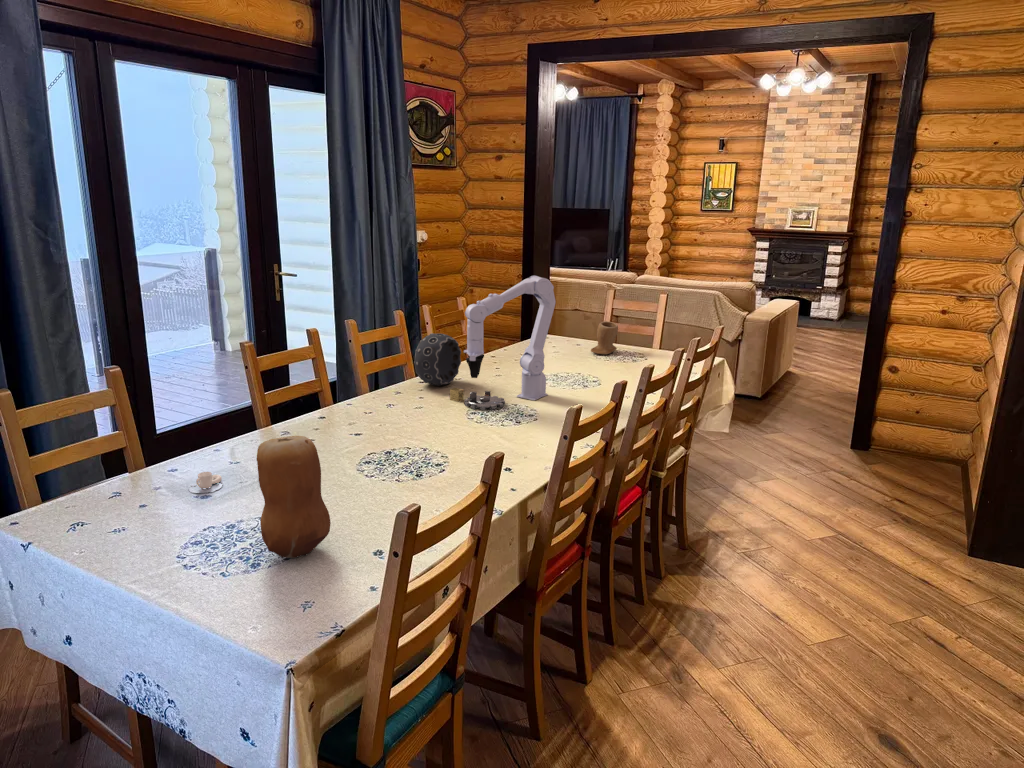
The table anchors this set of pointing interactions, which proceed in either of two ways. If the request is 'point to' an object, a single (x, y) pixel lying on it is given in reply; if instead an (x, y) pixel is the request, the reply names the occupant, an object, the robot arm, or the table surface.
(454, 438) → the table surface
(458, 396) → the link block
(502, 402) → the sprocket
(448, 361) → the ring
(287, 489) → the butternut squash
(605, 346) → the stone cup
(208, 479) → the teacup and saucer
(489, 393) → the block
